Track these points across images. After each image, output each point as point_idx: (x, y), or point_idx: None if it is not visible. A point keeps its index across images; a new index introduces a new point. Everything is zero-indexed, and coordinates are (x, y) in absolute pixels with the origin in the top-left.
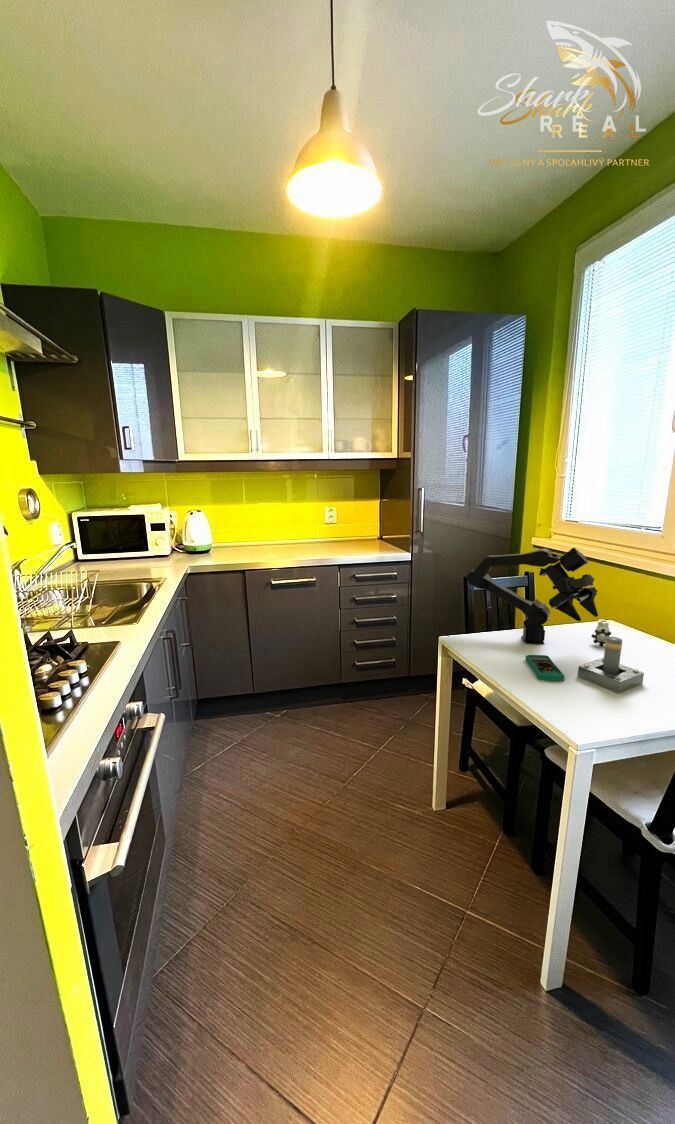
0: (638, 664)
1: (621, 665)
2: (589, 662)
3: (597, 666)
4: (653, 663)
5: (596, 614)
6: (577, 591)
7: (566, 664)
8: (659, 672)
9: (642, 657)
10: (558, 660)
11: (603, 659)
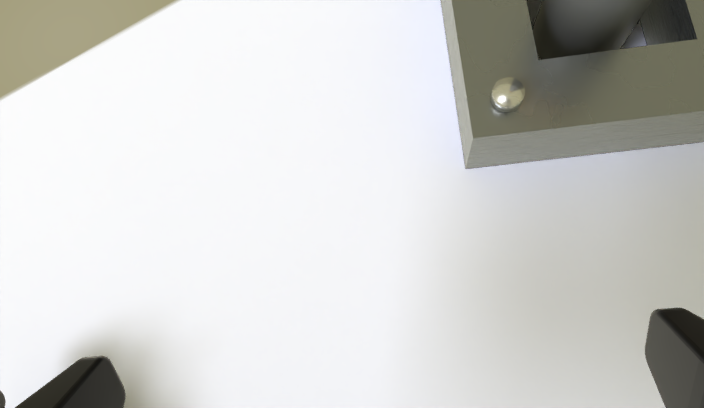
0: (188, 121)
1: (467, 2)
2: (655, 113)
3: (655, 45)
4: (97, 99)
5: (95, 381)
6: None
7: None
8: (200, 13)
9: (54, 181)
10: None
11: (523, 89)
